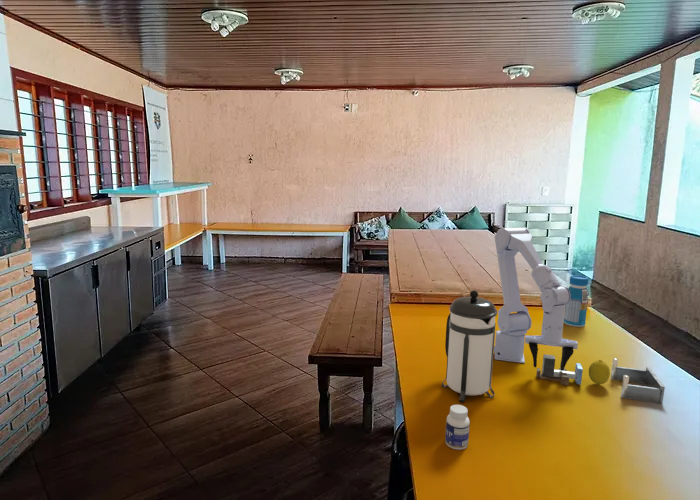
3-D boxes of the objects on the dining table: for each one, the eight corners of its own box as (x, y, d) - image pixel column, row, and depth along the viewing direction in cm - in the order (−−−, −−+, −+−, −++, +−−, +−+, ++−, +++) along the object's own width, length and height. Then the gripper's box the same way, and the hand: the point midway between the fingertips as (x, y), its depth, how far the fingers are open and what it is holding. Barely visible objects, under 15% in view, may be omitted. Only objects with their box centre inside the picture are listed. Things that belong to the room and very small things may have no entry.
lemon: (610, 390, 138) (614, 364, 137) (590, 388, 139) (593, 362, 138) (604, 382, 144) (607, 357, 142) (585, 380, 145) (587, 355, 143)
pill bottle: (442, 437, 113) (444, 403, 111) (463, 436, 113) (466, 402, 112) (448, 450, 108) (451, 415, 106) (471, 450, 108) (473, 414, 107)
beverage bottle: (564, 326, 193) (569, 278, 189) (561, 319, 201) (566, 273, 197) (587, 328, 190) (592, 280, 187) (583, 321, 198) (588, 275, 195)
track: (537, 381, 143) (538, 373, 143) (535, 372, 149) (536, 365, 149) (570, 385, 141) (570, 377, 140) (566, 376, 147) (567, 369, 146)
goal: (621, 398, 134) (624, 376, 132) (610, 377, 147) (612, 357, 145) (662, 404, 131) (666, 382, 130) (647, 382, 144) (650, 362, 143)
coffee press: (500, 386, 139) (509, 287, 134) (486, 410, 126) (495, 301, 120) (444, 372, 148) (449, 279, 143) (425, 393, 134) (430, 291, 129)
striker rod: (542, 379, 144) (544, 358, 142) (541, 373, 148) (543, 353, 147) (581, 384, 141) (583, 363, 139) (578, 378, 145) (580, 357, 144)
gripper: (527, 326, 140) (523, 369, 143) (581, 332, 136) (576, 376, 139) (526, 319, 147) (522, 360, 150) (577, 324, 143) (572, 367, 146)
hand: (548, 367), depth 145 cm, fingers open, 7 cm apart
